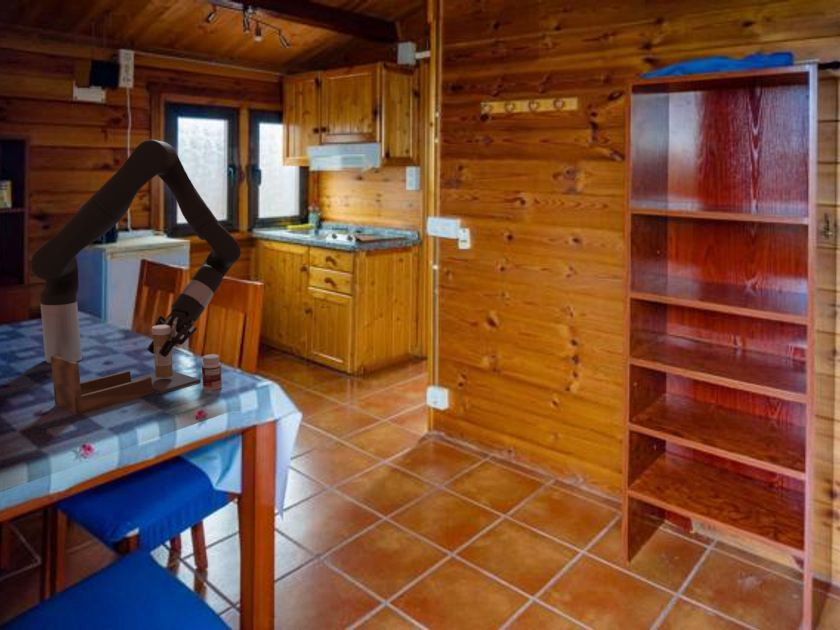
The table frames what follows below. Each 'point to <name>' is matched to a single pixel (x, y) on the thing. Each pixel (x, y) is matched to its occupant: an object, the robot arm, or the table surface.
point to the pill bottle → (211, 372)
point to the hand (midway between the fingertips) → (156, 353)
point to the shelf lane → (93, 387)
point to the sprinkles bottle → (159, 338)
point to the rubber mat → (169, 382)
